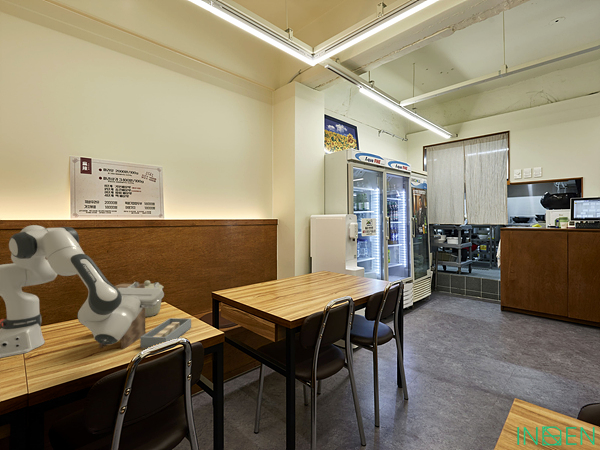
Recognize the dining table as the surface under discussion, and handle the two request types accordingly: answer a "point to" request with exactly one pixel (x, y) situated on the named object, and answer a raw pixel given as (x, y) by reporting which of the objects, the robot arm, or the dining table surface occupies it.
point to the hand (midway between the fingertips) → (147, 283)
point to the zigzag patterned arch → (132, 325)
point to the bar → (167, 330)
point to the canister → (154, 309)
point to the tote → (149, 340)
